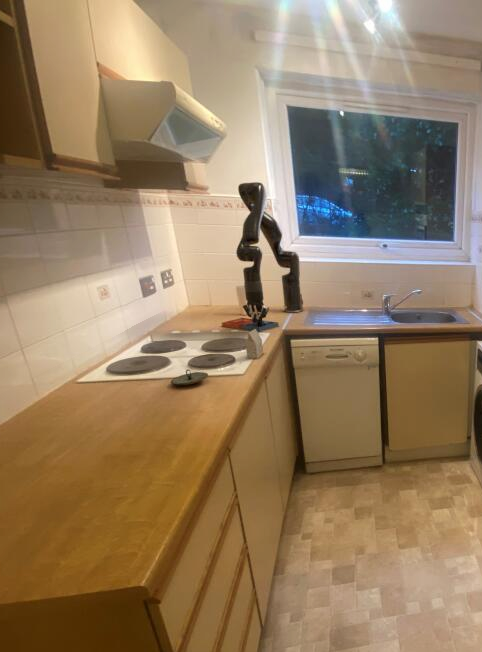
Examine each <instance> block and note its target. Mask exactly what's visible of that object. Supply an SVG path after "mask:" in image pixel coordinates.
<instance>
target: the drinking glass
mask: <svg viewBox="0 0 482 652" xmlns="http://www.w3.org/2000/svg"><path fill="white" fill-rule="evenodd" d="M235 292H236V297H237V301H238V306H239V310H240V315H242V316H248V315H247V313H246V312H245V310H244V308H243V306H244V305H246V304H247V300H246V295H245V287H244V285H236V286H235Z"/></svg>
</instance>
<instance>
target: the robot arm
mask: <svg viewBox="0 0 482 652" xmlns="http://www.w3.org/2000/svg"><path fill="white" fill-rule="evenodd" d="M237 187H238V188H237V190H238V194H239V197H240V199H241V201H242V202H243V204H244V205H245V207H246V208H247V210H248V211H249V214H248V215H247V216H246V218H245V219H244V221H243V224H242V235H241V238H240V241H239V242H238V245H237V248H236V251H235V253H236V254H235V255H236V257H237V259H238V260H239V261H240V262H244V263H245V262H246V263H247V262H248V263H253V264H252V266H245V267H243V270H242V273H243V281H244V283H243V284H244V285H243V286H244V287H245V295H246V300H247V304H246V305H244V306H243V308H244V310H245V312H246V313H247V315H246V316H247V317H248V318H250V319H252V320H253V323H255V322H257V323H258V327H262V325H263V323H262V320H263V319H265V318H266V317H267V315H268V312H269V310H270V308H269V307H268V306H265V304H264V291H263V283H262V277H261V263H262V260H263V251H262V248H261V247H259V246H258V243H259V242H260V233H262V235H263V237H264V239H265V240H266V242H267V244H268V246H269V248H270V250H271V252H272V255H273V256H274V260H275V261H276V263H277V265H278V266H279V267H280V268H283V269H289V272H288V273H286V274H282V276H281V285H282V295H283V309H284V312H286V313H299V312H302V311H303V310H304V308H303V306H304V299H303V295H302V294H303V293H301V283H300V282H301V281H300V278H301V277H300V276H301V269H300V255H299V254H298V252H296V251H293V250H284V249H283V248H282V245H281V242H282V239H283V230H282V228H281V226H280V224H279V223H278V221H277V219H276V218H275V217H274V216H272V215H271V214H269V212H267V211H265V208H266V205H267V200H268V199H267V197H268V192H267V189H266V187H265V185H264V184H263V183H262V182H258V181H256V182H255V181H254V182H253V181H252V182H241V183H239V184H238V186H237Z"/></svg>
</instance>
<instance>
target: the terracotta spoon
mask: <svg viewBox="0 0 482 652" xmlns="http://www.w3.org/2000/svg"><path fill="white" fill-rule="evenodd" d="M250 321H251V320H247V319H245V320H237V321H233V322H231V324H242V323H246V322H250Z"/></svg>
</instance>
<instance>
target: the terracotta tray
mask: <svg viewBox="0 0 482 652" xmlns="http://www.w3.org/2000/svg"><path fill="white" fill-rule="evenodd" d="M245 319H247V320H251V321H250V322H246V323H242V324H231V322H233V321H237V320H245ZM250 323H253V320H252V318H250V317H248V318H247V317H239V318H235V319H230V320H227V321H222V322H221V327H224V328H230V329H236V330H237V329H243V328H242V325H246V324H250Z"/></svg>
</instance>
